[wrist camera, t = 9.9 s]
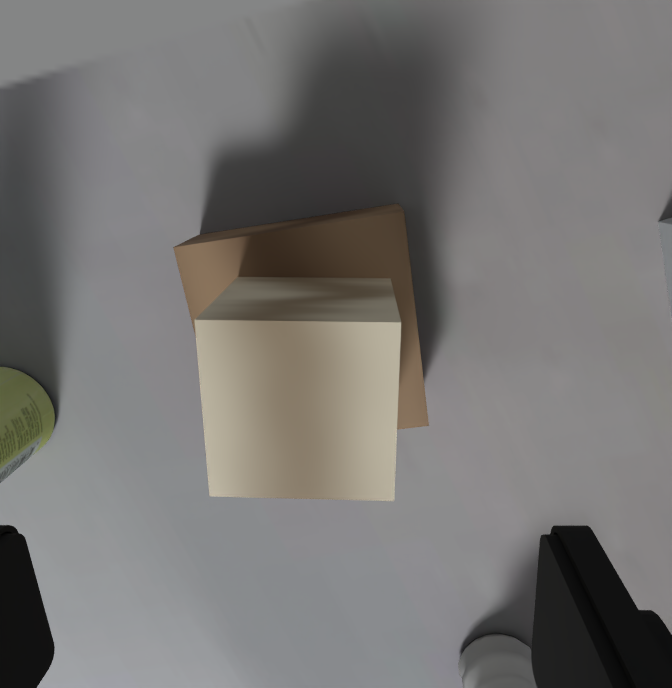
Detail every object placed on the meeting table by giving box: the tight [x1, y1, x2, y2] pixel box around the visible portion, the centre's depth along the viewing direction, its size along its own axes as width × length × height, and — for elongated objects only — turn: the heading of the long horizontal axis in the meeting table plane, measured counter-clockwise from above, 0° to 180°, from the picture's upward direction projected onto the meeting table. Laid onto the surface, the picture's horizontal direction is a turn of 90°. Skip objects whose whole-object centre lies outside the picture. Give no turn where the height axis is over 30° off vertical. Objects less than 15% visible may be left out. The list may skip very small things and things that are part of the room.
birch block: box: [195, 277, 401, 501], centre depth 20 cm, size 6×6×6 cm
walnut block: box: [174, 204, 429, 429], centre depth 24 cm, size 9×9×4 cm
